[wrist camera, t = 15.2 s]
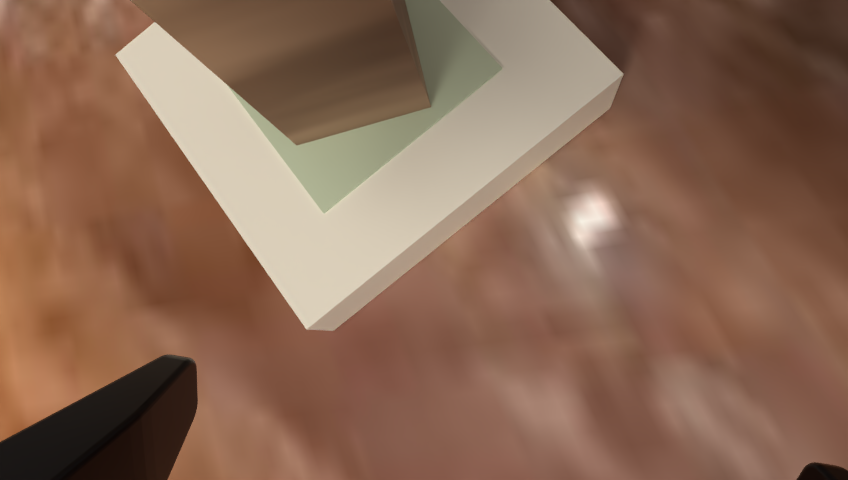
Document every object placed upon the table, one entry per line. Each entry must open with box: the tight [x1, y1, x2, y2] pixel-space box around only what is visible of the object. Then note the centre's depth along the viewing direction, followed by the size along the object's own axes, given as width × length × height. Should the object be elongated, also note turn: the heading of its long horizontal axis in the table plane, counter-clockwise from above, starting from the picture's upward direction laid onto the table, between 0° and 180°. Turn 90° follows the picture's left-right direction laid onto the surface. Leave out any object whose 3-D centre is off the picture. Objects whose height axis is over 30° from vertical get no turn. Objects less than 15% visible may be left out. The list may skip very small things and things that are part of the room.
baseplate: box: [116, 0, 623, 331], centre depth 19 cm, size 12×12×3 cm
